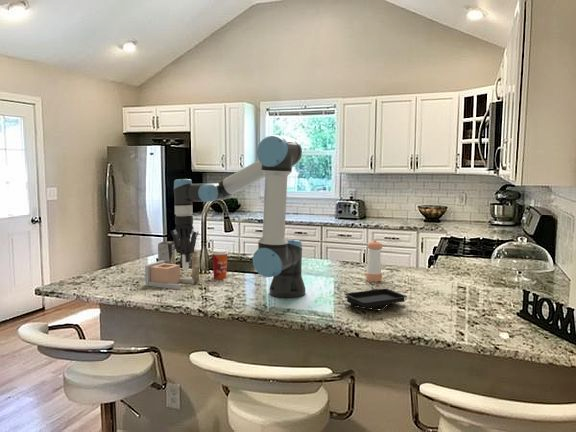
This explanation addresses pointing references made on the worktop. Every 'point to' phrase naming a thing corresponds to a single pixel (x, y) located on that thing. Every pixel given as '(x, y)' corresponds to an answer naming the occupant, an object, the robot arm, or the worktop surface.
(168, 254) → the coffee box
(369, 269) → the pepper shaker
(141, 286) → the worktop surface
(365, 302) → the tray
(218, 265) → the paper cup
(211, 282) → the worktop surface
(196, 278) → the dowel
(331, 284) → the worktop surface
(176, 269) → the block
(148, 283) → the mat with wall
